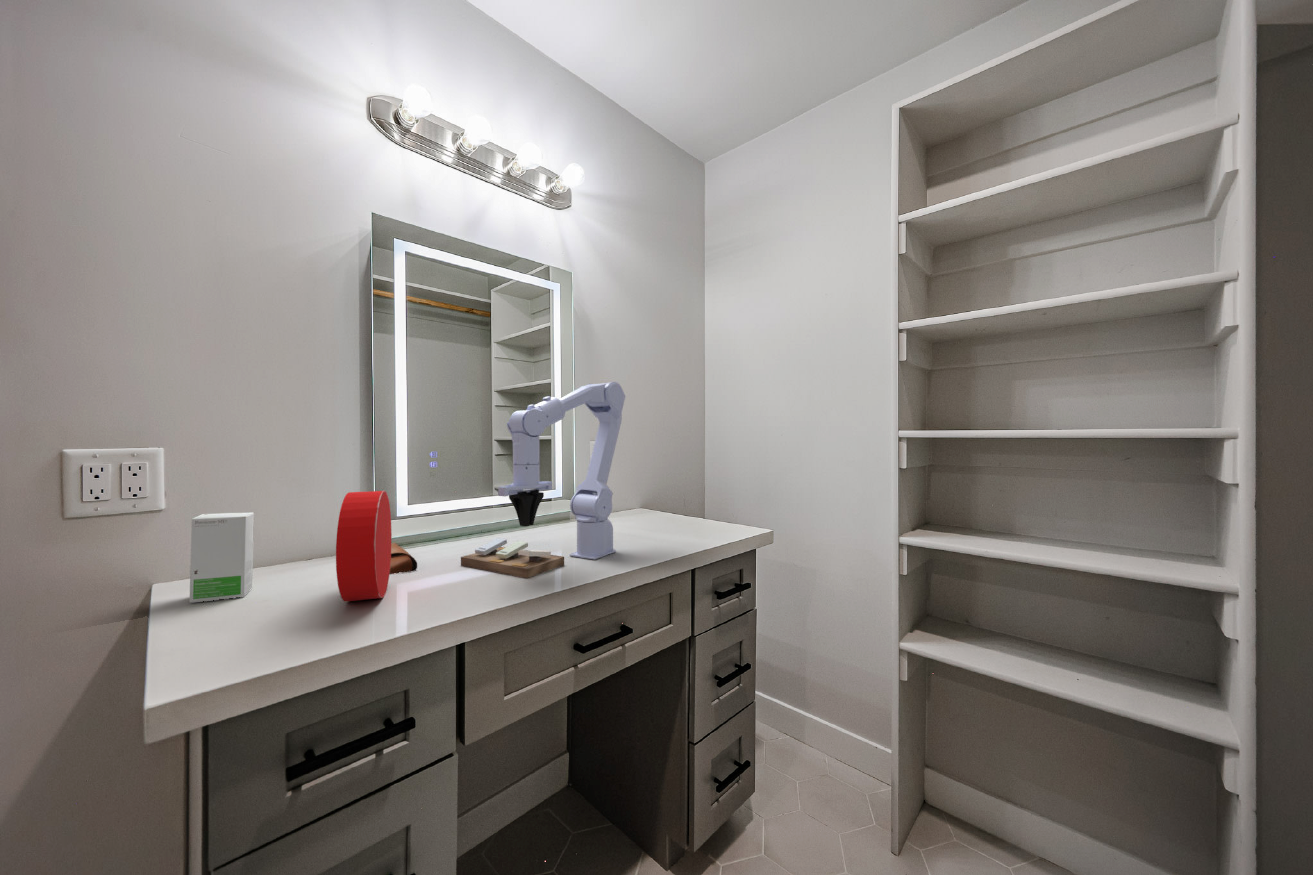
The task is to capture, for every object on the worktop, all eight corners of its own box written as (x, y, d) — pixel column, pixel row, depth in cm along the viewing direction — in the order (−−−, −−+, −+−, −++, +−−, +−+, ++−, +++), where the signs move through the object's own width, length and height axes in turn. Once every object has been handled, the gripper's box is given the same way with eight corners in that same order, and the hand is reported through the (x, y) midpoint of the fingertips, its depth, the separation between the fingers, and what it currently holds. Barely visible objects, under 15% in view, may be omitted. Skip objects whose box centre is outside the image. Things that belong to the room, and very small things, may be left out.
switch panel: (500, 554, 128) (500, 543, 128) (564, 565, 118) (564, 552, 118) (460, 565, 118) (460, 553, 118) (527, 578, 107) (527, 564, 107)
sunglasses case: (361, 560, 122) (377, 534, 125) (389, 570, 126) (403, 545, 128) (376, 576, 108) (393, 547, 111) (406, 587, 112) (422, 559, 114)
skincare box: (188, 604, 91) (187, 518, 91) (200, 594, 97) (199, 513, 97) (246, 597, 95) (245, 515, 95) (255, 587, 101) (254, 510, 101)
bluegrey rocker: (497, 541, 125) (497, 537, 125) (507, 543, 123) (506, 539, 123) (475, 553, 119) (474, 549, 119) (484, 555, 117) (484, 550, 117)
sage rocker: (518, 544, 121) (517, 540, 121) (528, 546, 120) (527, 542, 120) (496, 557, 115) (495, 552, 115) (506, 558, 114) (505, 554, 114)
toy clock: (359, 584, 103) (359, 486, 103) (391, 581, 105) (391, 485, 105) (336, 617, 85) (335, 499, 84) (375, 613, 87) (374, 497, 87)
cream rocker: (539, 554, 118) (540, 549, 118) (550, 556, 116) (551, 551, 116) (518, 554, 112) (519, 549, 112) (529, 556, 110) (529, 551, 110)
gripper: (535, 462, 120) (536, 518, 120) (487, 465, 107) (488, 529, 108) (558, 462, 116) (559, 521, 117) (511, 466, 104) (512, 532, 104)
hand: (526, 525), depth 112 cm, fingers closed
